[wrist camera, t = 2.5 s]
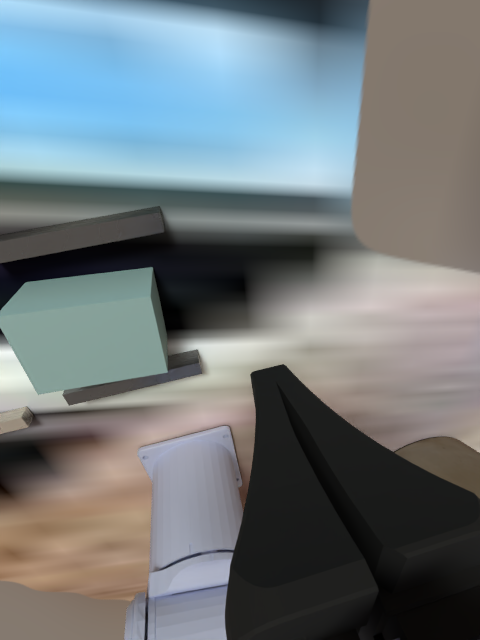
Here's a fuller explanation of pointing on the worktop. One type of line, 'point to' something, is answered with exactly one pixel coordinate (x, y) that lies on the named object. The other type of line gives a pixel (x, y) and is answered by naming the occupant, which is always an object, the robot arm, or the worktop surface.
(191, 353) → the chute
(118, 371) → the painted block
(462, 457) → the plant pot
